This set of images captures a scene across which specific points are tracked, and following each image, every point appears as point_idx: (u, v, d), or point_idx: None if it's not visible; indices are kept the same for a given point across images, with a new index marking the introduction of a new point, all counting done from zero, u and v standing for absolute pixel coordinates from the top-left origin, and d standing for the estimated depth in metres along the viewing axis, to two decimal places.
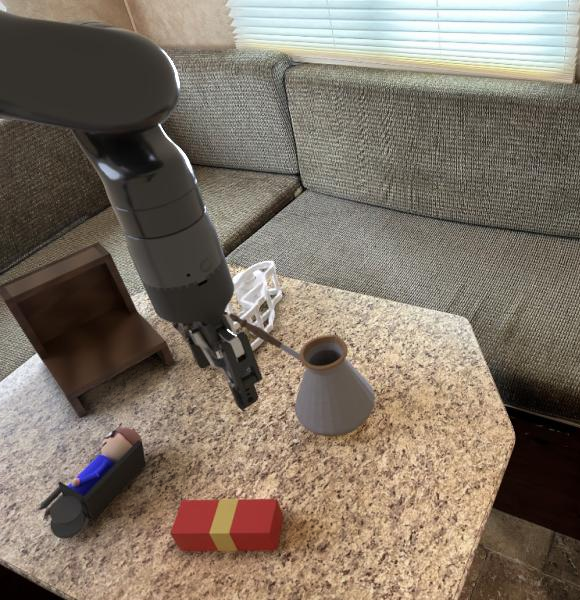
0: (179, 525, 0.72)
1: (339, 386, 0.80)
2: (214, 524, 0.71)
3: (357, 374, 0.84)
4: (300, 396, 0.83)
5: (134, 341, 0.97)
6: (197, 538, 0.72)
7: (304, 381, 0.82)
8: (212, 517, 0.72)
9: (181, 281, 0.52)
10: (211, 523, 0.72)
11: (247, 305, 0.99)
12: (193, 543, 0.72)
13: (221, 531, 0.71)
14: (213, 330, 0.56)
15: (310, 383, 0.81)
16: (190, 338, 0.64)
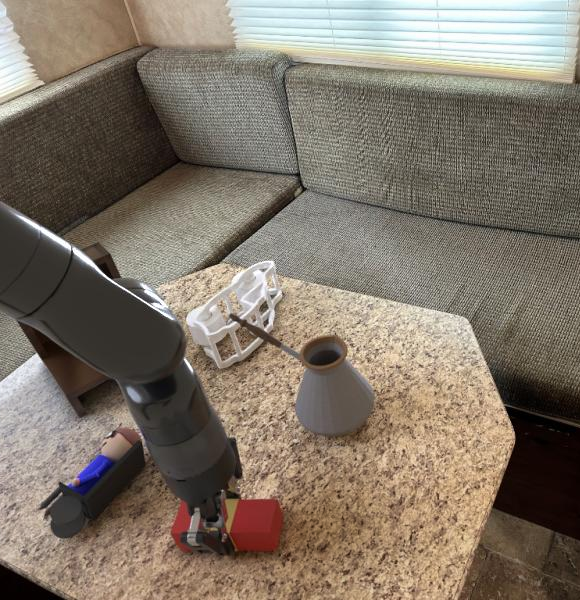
0: (179, 525, 0.72)
1: (339, 386, 0.80)
2: None
3: (357, 374, 0.84)
4: (300, 396, 0.83)
5: None
6: None
7: (304, 381, 0.82)
8: None
9: (164, 472, 0.61)
10: None
11: (247, 304, 0.99)
12: None
13: None
14: (189, 513, 0.65)
15: (310, 383, 0.81)
16: None
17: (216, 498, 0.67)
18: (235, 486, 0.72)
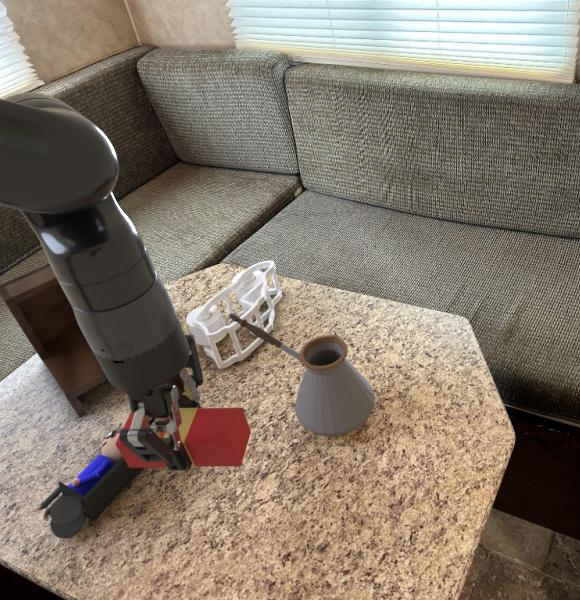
0: None
1: (339, 386, 0.80)
2: (167, 433, 0.61)
3: (357, 374, 0.84)
4: (300, 396, 0.83)
5: None
6: None
7: (304, 381, 0.82)
8: None
9: (98, 352, 0.51)
10: (163, 432, 0.61)
11: (247, 304, 0.99)
12: None
13: None
14: (132, 408, 0.54)
15: (310, 383, 0.81)
16: None
17: (166, 394, 0.56)
18: (192, 389, 0.61)
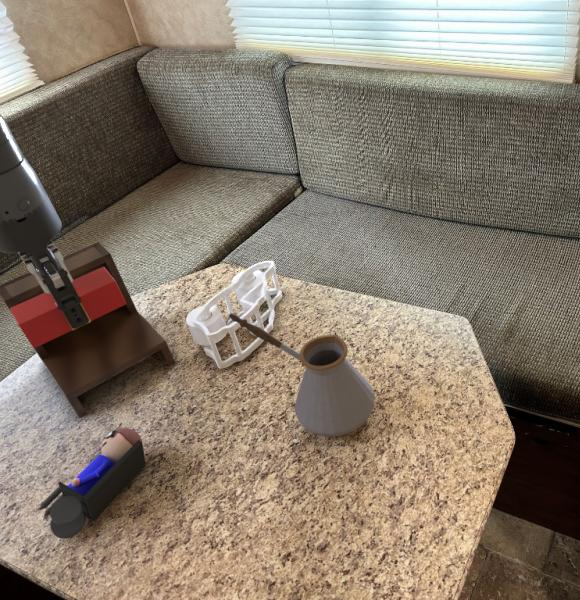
0: (23, 317, 0.74)
1: (339, 386, 0.80)
2: None
3: (357, 374, 0.84)
4: (300, 396, 0.83)
5: (134, 341, 0.97)
6: (48, 320, 0.75)
7: (304, 381, 0.82)
8: (52, 300, 0.76)
9: (1, 217, 0.66)
10: (54, 302, 0.76)
11: (247, 305, 0.99)
12: (45, 330, 0.75)
13: None
14: (39, 263, 0.70)
15: (310, 383, 0.81)
16: None
17: (55, 253, 0.72)
18: None
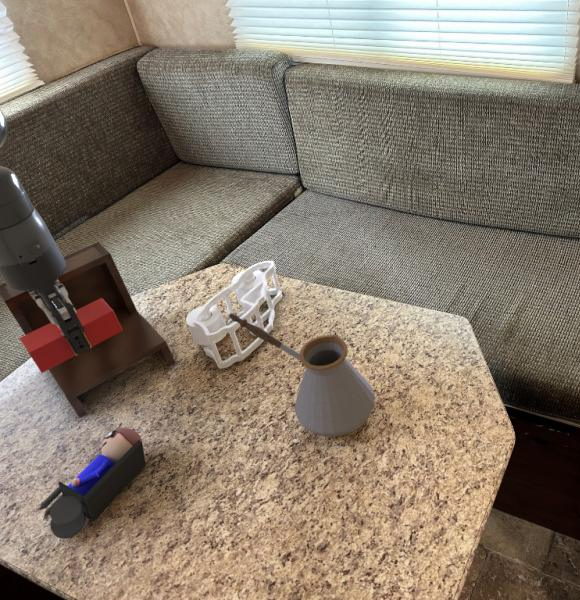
0: (32, 346, 0.84)
1: (339, 386, 0.80)
2: None
3: (357, 374, 0.84)
4: (300, 396, 0.83)
5: (134, 341, 0.97)
6: (55, 347, 0.85)
7: (304, 381, 0.82)
8: (57, 329, 0.86)
9: (16, 261, 0.76)
10: (59, 331, 0.86)
11: (247, 305, 0.99)
12: (52, 356, 0.85)
13: None
14: (48, 298, 0.80)
15: (310, 383, 0.81)
16: (50, 312, 0.87)
17: (60, 289, 0.83)
18: None
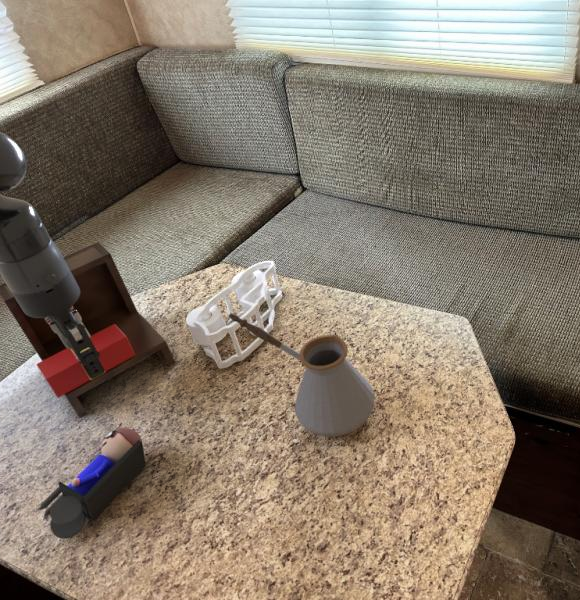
0: (49, 372, 0.87)
1: (339, 386, 0.80)
2: None
3: (357, 374, 0.84)
4: (300, 396, 0.83)
5: (134, 341, 0.97)
6: (70, 373, 0.88)
7: (304, 381, 0.82)
8: (72, 355, 0.90)
9: (33, 290, 0.79)
10: (74, 357, 0.89)
11: (247, 305, 0.99)
12: (68, 381, 0.89)
13: None
14: (61, 322, 0.82)
15: (310, 383, 0.81)
16: None
17: (74, 315, 0.85)
18: None
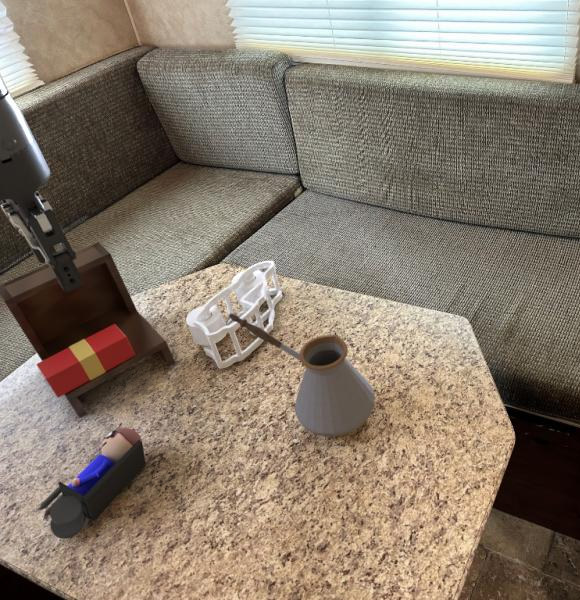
0: (49, 372, 0.87)
1: (339, 386, 0.80)
2: (78, 356, 0.89)
3: (357, 374, 0.84)
4: (300, 396, 0.83)
5: (134, 341, 0.97)
6: (70, 373, 0.88)
7: (304, 381, 0.82)
8: (72, 355, 0.90)
9: None
10: (74, 357, 0.89)
11: (247, 305, 0.99)
12: (68, 381, 0.89)
13: (87, 356, 0.89)
14: (24, 208, 0.62)
15: (310, 383, 0.81)
16: None
17: (43, 204, 0.65)
18: None
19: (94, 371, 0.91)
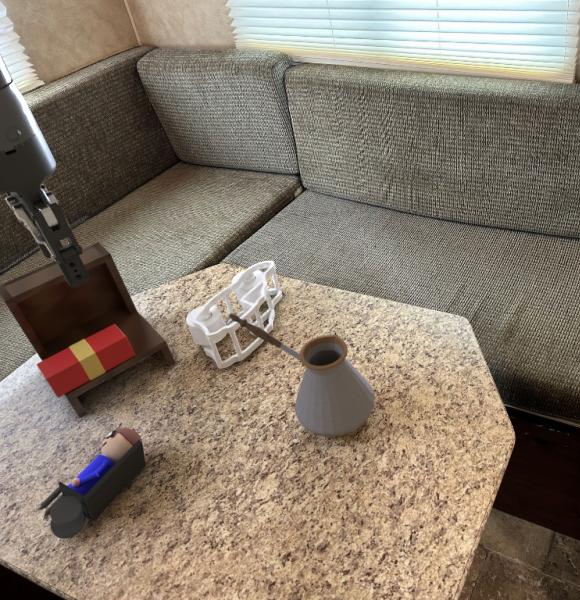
0: (49, 372, 0.87)
1: (339, 386, 0.80)
2: (78, 356, 0.89)
3: (357, 374, 0.84)
4: (300, 396, 0.83)
5: (134, 341, 0.97)
6: (70, 373, 0.88)
7: (304, 381, 0.82)
8: (72, 355, 0.90)
9: None
10: (74, 357, 0.89)
11: (247, 304, 0.99)
12: (68, 381, 0.89)
13: (87, 356, 0.89)
14: (29, 202, 0.60)
15: (310, 383, 0.81)
16: None
17: (48, 197, 0.63)
18: None
19: (94, 371, 0.91)
